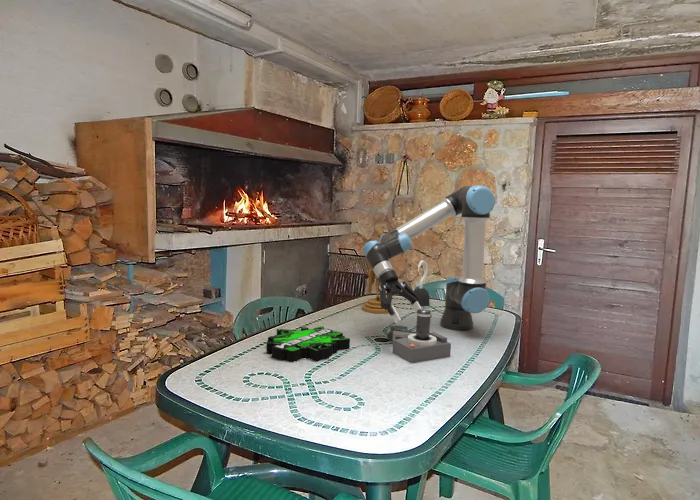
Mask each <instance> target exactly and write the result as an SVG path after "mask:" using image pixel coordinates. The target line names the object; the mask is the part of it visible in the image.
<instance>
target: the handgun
mask: <svg viewBox="0 0 700 500" xmlns="http://www.w3.org/2000/svg"><path fill="white" fill-rule="evenodd" d="M410 334H416V331H411V330H410V329H409V328H408V326H403V325H391V326H390V330H389V331H388V333H387V335H386V339H387V340H388V341H392V342H393V340H394V339H401V338H408V335H410Z"/></svg>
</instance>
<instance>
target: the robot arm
mask: <svg viewBox="0 0 700 500" xmlns="http://www.w3.org/2000/svg"><path fill="white" fill-rule="evenodd" d="M494 194H495V193H493V191H492V190H491V189H490V188H488V187H487V186H484V185H465V186H462V187H460V188H458V189H457V190H456V191H453V192H452V193H450V194H448V195H447V196H445V197H444V198H443V199H442V201H440V203H438V204H436V205H435V206H433V207H431V208H429V209H427V210H426V211H424V212H422V213H421V214H419V215H417V216H416V217H413V218H412V219H410V220H408V221H407V222H405V223H403V224H402V225H400V226H398V227H397V228H395V229H393V230H391V231H389V232H386V233H383V235H382V236H381V237H380V239H379V238H378V240H379V242H378V240H370V241H367V243H365V245H364V246H363V248H362V252H363V254H364V256H365V259H366V260H367V262H368V264H369V266H370V265H371V267H372V269H373V271H374V273H375V277H376V279H377V278H379V279H378V280H379V282H380V286H379V287H378V290H379V298H380V303H381V308H384V309H385V310H388V312H389V313H388V314H389V316H390V317H392V320H393V321H394V324H398V323H400V322H401V320H402V319H401V318H400V315H399V313H398V312H397V309H396V308H395V306H394V305H393V304H392V302H393V296H401V297H403V298H404V299H406V300H407V301H409V302H410V304H411V303H413V306H412V307H413V309H414V311H415V312H416V313H417V310H419V309H423V307H421V305H420V304H419V300H420V299H421V298H420V297H419V296H418V295H417V294H416V293H415V292H414V290H413V289H412V288H411V287H410V286H409V285H408V284H407V282H406V281H402V282H400V281H399V276H398V275H397V272H396V271H395V269H394V268H393V265H392V263H391V262H390V260H391V259H392V258H394V257H397V256H399V255H401V254H403V253H407V252H408V251H409V250H411V249H412V246H413V245H412V239H414V238H416V237H418V236H419V235H421V234H423V233H425V232H426V231H428V230H430V229H432V228H433V227H434V226H437V225H438V224H440V223H442V222H444V221H445V220H446V219H448V218H450V217H452V218H455V217H457V216H459V215H461V216H460V217H461V219H462V220H463V221H464V230H463V232H464V233H463V236H464V237H463V250H462V251H463V253H462V254H463V255H462V275H461V276H448V278H447V279H446V283H445V286H446V287H445V299H444V300H445V302H444V303H445V304H444V310H443V312H442V315H441V317H440V321H439V325H440V326H441V327H442V328H446V329H450V330H454V331H455V330H456V331H470V330H472V329H474V320H473V316H472V314H480V313H482V312H483V311H484V310H486V308H488V306H489V305H490V299H491V298H490V294H489V292H488V290H487V281H486V279H484V277H483V276H484V259H485V240H486V223H487V221H488V220H490V216H491V215H490V214H491V212H492V210H493V209H494V207H495V205H496V196H495V195H494ZM379 243H380V244H379ZM391 305H392V306H391Z"/></svg>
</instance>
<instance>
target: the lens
mask: <svg viewBox="0 0 700 500" xmlns="http://www.w3.org/2000/svg"><path fill="white" fill-rule="evenodd" d="M431 316H432V311H431V310H429V309H425V308H424V309H423V308H422V309H419V310H417V312H416V325H415V332H416V339H417V340H424V341H427V340H429V333H431V332H430V329H431V318H432V317H431Z"/></svg>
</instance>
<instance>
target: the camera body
mask: <svg viewBox="0 0 700 500" xmlns="http://www.w3.org/2000/svg"><path fill="white" fill-rule="evenodd" d="M451 350H452V343H451V342H448V337H446V336H444V335H442V334H440V333H437V332H434V331H433V332H432V331H431V332H429V340H427V341H424V340H417V339H416V334H410V335H408V338H401V339H394V340H393V341H392V353H393V354H394V355H396V356H399V358H401V359H403V360H405V361H407V362H409V363H410V364H413V363H420V362H425V361H430V360H431V361H432V360H436V359H441V358H447V357H448V358H449V357H451Z"/></svg>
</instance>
